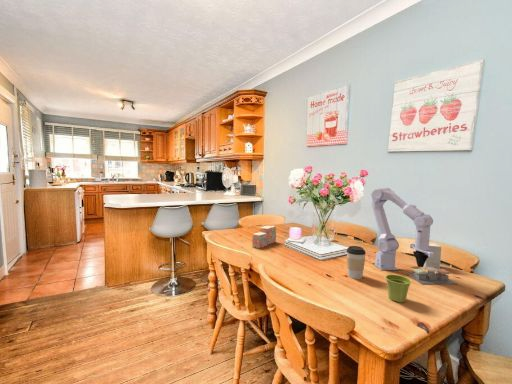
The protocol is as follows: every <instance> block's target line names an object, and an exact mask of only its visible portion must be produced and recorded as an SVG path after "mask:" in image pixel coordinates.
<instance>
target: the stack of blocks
mask: <svg viewBox="0 0 512 384" xmlns="http://www.w3.org/2000/svg"><path fill="white" fill-rule="evenodd" d="M274 242H275V243H276V242H277V226H276V225H265V226H261V227H259V232H256V233H253V234H252V248H255V247H256V248H257V249H259V248H260V249H263V248H265V247H267V246H269V244H270V245H272V244H275V243H274ZM271 243H272V244H271ZM264 246H265V247H264Z"/></svg>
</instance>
